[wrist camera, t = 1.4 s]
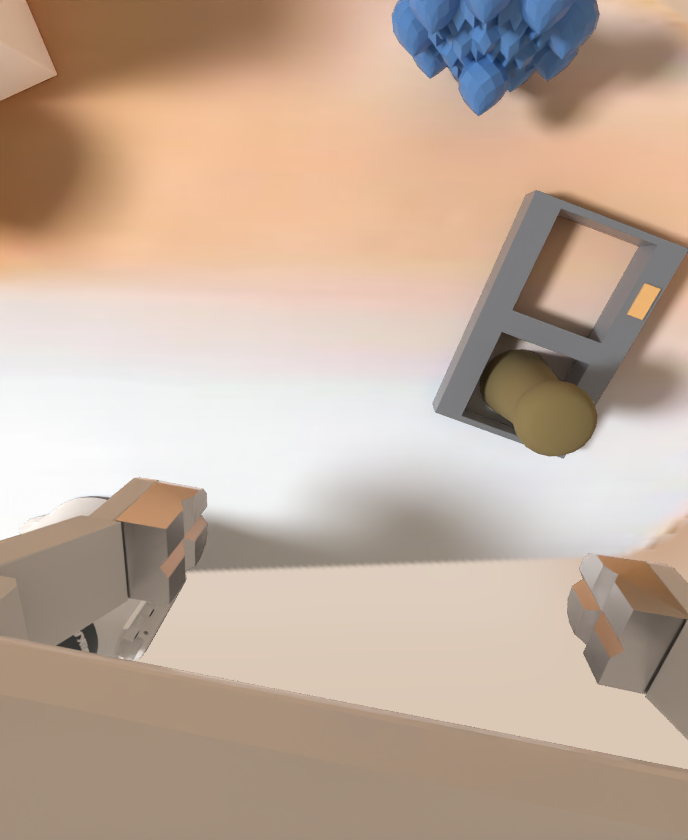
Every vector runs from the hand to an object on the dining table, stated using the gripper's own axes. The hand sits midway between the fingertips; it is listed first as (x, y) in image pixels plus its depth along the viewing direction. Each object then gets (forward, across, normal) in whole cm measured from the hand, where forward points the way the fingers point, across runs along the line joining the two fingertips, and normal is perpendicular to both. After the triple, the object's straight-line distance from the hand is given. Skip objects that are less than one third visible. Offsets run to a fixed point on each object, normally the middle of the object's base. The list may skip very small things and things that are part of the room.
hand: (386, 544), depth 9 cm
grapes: (+31, -3, -18) cm, 36 cm away
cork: (+31, -11, +4) cm, 33 cm away
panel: (+30, -12, -1) cm, 33 cm away
